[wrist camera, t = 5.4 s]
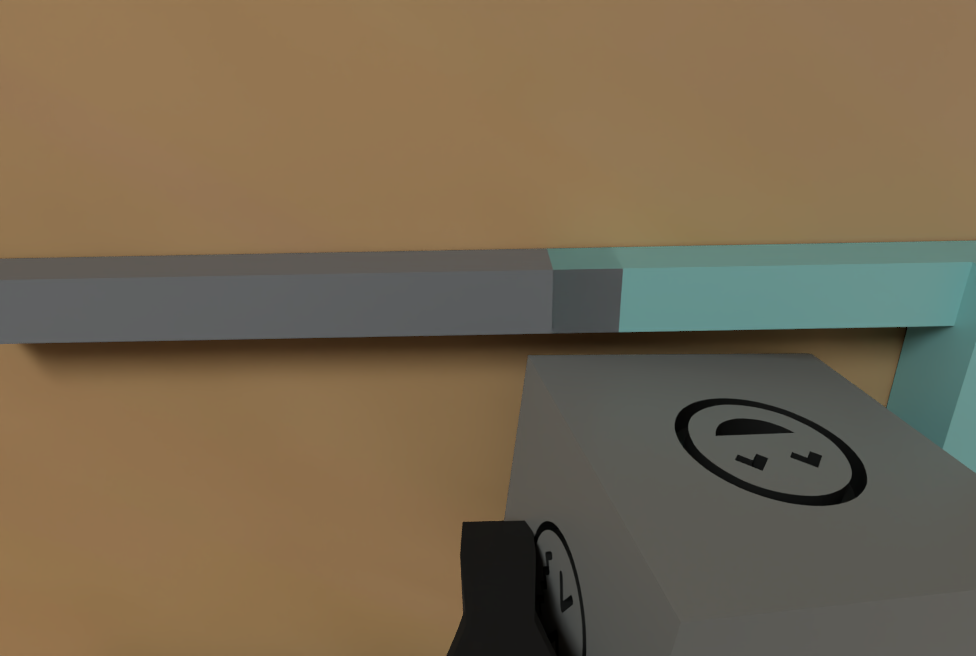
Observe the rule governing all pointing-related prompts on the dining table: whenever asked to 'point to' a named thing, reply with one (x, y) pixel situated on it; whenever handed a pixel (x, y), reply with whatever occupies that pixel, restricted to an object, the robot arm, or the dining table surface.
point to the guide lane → (533, 301)
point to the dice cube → (737, 512)
